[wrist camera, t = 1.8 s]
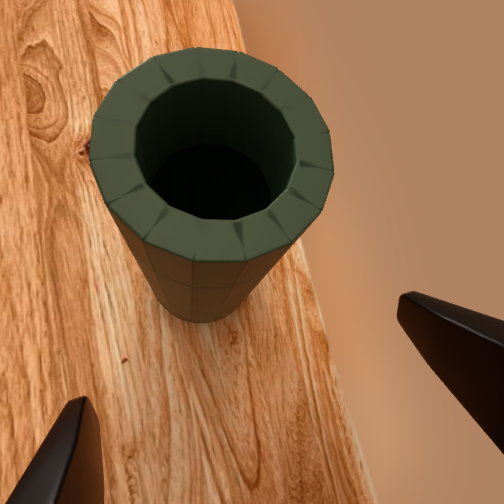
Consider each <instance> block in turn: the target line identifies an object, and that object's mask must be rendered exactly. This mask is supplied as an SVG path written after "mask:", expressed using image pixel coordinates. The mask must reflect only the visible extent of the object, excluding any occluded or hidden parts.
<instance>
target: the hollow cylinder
mask: <svg viewBox="0 0 504 504" xmlns="http://www.w3.org/2000/svg"><path fill="white" fill-rule="evenodd" d="M89 161H90V167H91V169H92V172H93V175H94V177H95V180H96V182H97V185H98V187H99V190H100V193H101V195H102V198H103V200H104V203H105V205H106V207H107V208H108V210H109V212H110V214H111V216H112V217H113V219H114V221H115V223H116V225H117V227H118V228H119V230H120V232H121V234H122V236H123V237H124V239H125V241H126V243H127V245H128V247H129V248H130V250H131V252H132V254H133V256H134V257H135V259H136V261H137V263H138V265H139V266H140V268H141V270H142V272H143V274H144V275H145V277H146V279H147V281H148V283H149V285H150V286H151V288H152V290H153V292H154V294H155V295H156V297H157V299H158V300H159V302H160V303H161V304H162V305H163V306H164V307H165V308H166V309H167V310H168V311H169V312H170V313H171V314H173V315H174V316H176V317H178V318H180V319H182V320H185V321H188V322H193V323H208V322H213V321H216V320H219V319H221V318H223V317H225V316H227V315H229V314H230V313H232V312H233V311H234V310H235V309H236V308H237V306H238V305H239V304H240V303H241V302H242V301H243V300H244V299H245V298H246V297H247V296H248V295H249V293H250V292H251V291H252V290H253V289H254V288H255V287H256V286H257V284H258V283H259V282H260V281H261V280H262V279H263V278H264V277H265V275H266V274H267V273H268V272H269V271H270V270H271V269H272V268H273V266H274V265H275V264H276V263H277V262H278V261H279V260H280V259H281V257H282V256H283V255H284V254H285V253H286V252H287V251H288V249H289V248H290V247H291V246H292V245H293V244H294V243H295V242H296V241H297V239H298V238H299V237H300V236H301V235H302V234H303V233H304V232H305V230H306V229H307V228H308V227H309V226H310V225H311V224H312V222H313V221H314V220H315V219H316V218H317V217H318V216H319V214H320V213H321V211H322V210H323V207H324V204H325V201H326V198H327V195H328V192H329V189H330V186H331V183H332V180H333V177H334V165H333V156H332V148H331V139H330V134H329V129H328V127H327V125H326V124H325V122H324V120H323V118H322V116H321V114H320V113H319V111H318V109H317V107H316V105H315V104H314V102H313V100H312V98H311V97H309V96H308V94H307V93H305V92H304V91H303V90H302V89H301V88H300V87H298V86H297V85H296V84H295V83H294V82H293V81H292V80H291V79H289V78H288V77H287V76H286V75H285V74H284V73H283V72H281V71H280V70H278V68H277V67H275V66H272V65H270V64H268V63H265V62H263V61H261V60H258V59H256V58H254V57H251V56H249V55H247V54H244V53H242V52H237V51H232V50H222V49H212V48H202V47H196V48H193V47H192V48H187V49H183V50H178V51H174V52H170V53H165V54H161V55H156V56H154V57H153V58H152V57H151V58H149V59H147V60H146V61H144V62H143V63H141V64H140V65H138V66H137V67H135V68H134V69H132V70H131V71H129V72H128V73H126V74H125V75H123V76H122V77H120V78H119V79H118V80H117V81H115V82H114V84H113V85H112V87H111V89H110V90H109V92H108V93H107V95H106V97H105V98H104V100H103V101H102V103H101V104H100V106H99V108H98V109H97V111H96V112H95V114H94V118H93V120H92V131H91V141H90V151H89Z"/></svg>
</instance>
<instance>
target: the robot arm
mask: <svg viewBox="0 0 504 504" xmlns="http://www.w3.org/2000/svg"><path fill="white" fill-rule="evenodd" d="M397 319H398V322H399V324H400V325H401V327H402V328H403V329H404V331H405V332H406V334H407V335H408V337H409V338H410V340H411V341H412V343H413V344H414V345H415V347H416V348H417V350H418V351H419V353H420V354H421V356H422V357H423V358H424V360H425V361H426V362H427V364H428V365H429V366H430V368H431V369H432V370H433V371H434V372H435V374H436V375H437V376H438V377H439V378H440V380H441V381H442V382H443V383H444V384H445V386H447V388H448V389H449V390H450V391H451V393H452V394H453V395H454V396H455V397H456V398H457V400H458V401H459V402H460V403H461V404H462V406H463V407H464V408H465V409H466V410H467V412H468V413H469V414H470V415H471V416H472V418H473V419H474V420H475V421H476V422H477V423H478V425H479V426H480V427H481V428H482V429H483V431H484V432H485V433H486V434H487V435H488V436H489V438H490V439H491V440H492V441H493V442H494V443H495V445H496V446H497V447H498V448H499V450H501V452H502V453H503V454H504V321H503V320H500V319H497V318H494V317H491V316H488V315H484V314H482V313H479V312H476V311H473V310H470V309H466V308H464V307H461V306H458V305H455V304H452V303H449V302H446V301H443V300H439V299H436V298H434V297H430V296H428V295H425V294H422V293H419V292H415V291H410V292H407V293H404V294H402V295H401V296H400V297H399V303H398V309H397ZM5 504H104V475H103V462H102V449H101V436H100V424H99V419H98V416H97V414H96V412H95V410H94V408H93V406H92V404H91V402H90V400H89V398H88V397H87V396H81V397H78V398H75V399H72V400H70V401H68V402H67V404H66V405H65V407H64V408H63V410H62V412H61V413H60V415H59V417H58V418H57V420H56V421H55V423H54V425H53V426H52V428H51V430H50V431H49V433H48V434H47V436H46V438H45V439H44V441H43V443H42V444H41V446H40V448H39V449H38V451H37V452H36V454H35V456H34V457H33V459H32V461H31V462H30V464H29V465H28V467H27V469H26V470H25V472H24V474H23V475H22V477H21V479H20V480H19V482H18V483H17V485H16V487H15V488H14V490H13V492H12V493H11V495H10V496H9V498H8V500H7V501H6V503H5Z"/></svg>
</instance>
